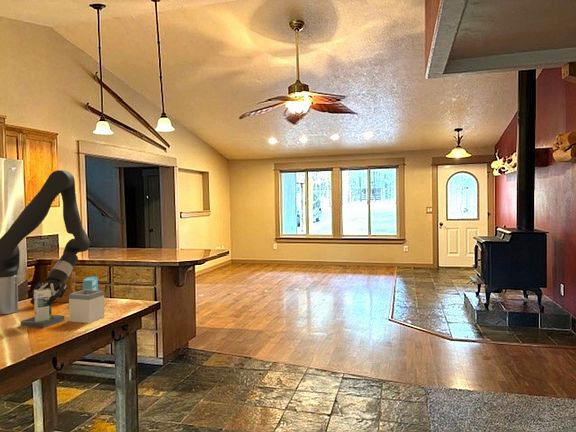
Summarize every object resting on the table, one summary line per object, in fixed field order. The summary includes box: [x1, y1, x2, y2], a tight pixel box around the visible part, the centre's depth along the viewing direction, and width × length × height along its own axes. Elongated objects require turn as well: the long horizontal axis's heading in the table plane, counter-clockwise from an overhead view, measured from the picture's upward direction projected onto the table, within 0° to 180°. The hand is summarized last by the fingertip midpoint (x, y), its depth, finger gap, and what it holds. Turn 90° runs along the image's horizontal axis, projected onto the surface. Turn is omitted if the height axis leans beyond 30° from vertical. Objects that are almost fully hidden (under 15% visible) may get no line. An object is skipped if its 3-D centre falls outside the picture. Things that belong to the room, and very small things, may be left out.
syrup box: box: [33, 289, 53, 323], centre depth 182 cm, size 6×6×14 cm
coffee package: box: [50, 258, 76, 304], centre depth 222 cm, size 10×12×22 cm
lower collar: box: [20, 314, 66, 329], centre depth 183 cm, size 12×12×2 cm
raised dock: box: [68, 289, 105, 324], centre depth 189 cm, size 10×10×12 cm
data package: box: [82, 276, 99, 290], centre depth 223 cm, size 12×4×12 cm, turn 11°
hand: (40, 304), depth 181 cm, fingers closed on syrup box, 8 cm apart
